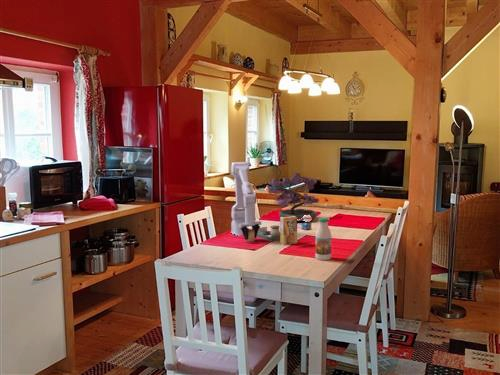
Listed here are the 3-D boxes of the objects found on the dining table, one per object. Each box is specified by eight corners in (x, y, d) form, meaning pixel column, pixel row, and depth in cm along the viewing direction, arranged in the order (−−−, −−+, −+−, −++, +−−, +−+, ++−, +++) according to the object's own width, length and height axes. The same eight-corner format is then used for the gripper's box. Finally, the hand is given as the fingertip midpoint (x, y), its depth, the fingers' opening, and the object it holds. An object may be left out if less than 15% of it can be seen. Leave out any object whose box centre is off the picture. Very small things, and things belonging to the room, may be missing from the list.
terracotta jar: (244, 241, 274) (244, 229, 273) (251, 240, 276) (251, 228, 276) (249, 243, 270) (249, 231, 269) (256, 242, 272) (256, 229, 272)
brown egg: (268, 238, 278) (268, 226, 277) (275, 237, 281) (275, 225, 280) (274, 239, 274) (274, 227, 273) (281, 238, 277) (281, 226, 276)
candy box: (293, 242, 270) (293, 215, 268) (297, 244, 266) (297, 217, 264) (279, 244, 266) (279, 217, 264) (283, 246, 262) (283, 218, 260)
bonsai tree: (320, 216, 345) (321, 171, 341) (315, 224, 319) (315, 175, 315) (273, 215, 355) (272, 171, 351) (264, 222, 329) (263, 174, 325)
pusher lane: (248, 236, 288) (248, 229, 288) (264, 233, 295) (264, 227, 295) (271, 242, 270) (271, 236, 270) (287, 239, 277) (287, 233, 277)
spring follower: (255, 234, 288) (255, 227, 287) (263, 233, 291) (263, 225, 291) (259, 235, 284) (259, 228, 284) (267, 234, 288) (267, 226, 287)
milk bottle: (313, 256, 241) (313, 217, 238) (329, 256, 241) (329, 216, 239) (317, 260, 233) (317, 220, 231) (333, 260, 234) (333, 219, 231)
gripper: (243, 217, 264) (243, 241, 265) (264, 214, 272) (264, 238, 274) (236, 215, 269) (236, 239, 271) (257, 212, 278) (257, 235, 279)
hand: (250, 238), depth 273 cm, fingers open, 5 cm apart
